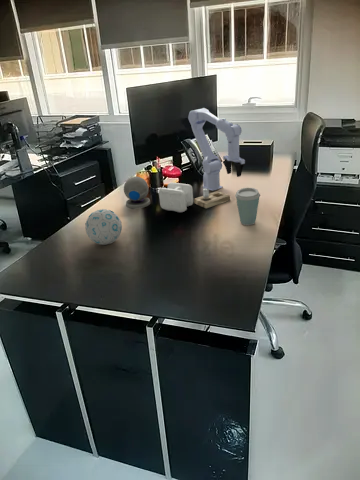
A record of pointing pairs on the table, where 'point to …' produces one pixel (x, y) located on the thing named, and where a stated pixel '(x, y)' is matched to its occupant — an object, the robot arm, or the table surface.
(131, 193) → the webcam
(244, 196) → the disposable coffee cup
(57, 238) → the table surface
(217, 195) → the socket block
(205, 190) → the pin
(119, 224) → the puzzle ball
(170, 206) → the cable organizer
